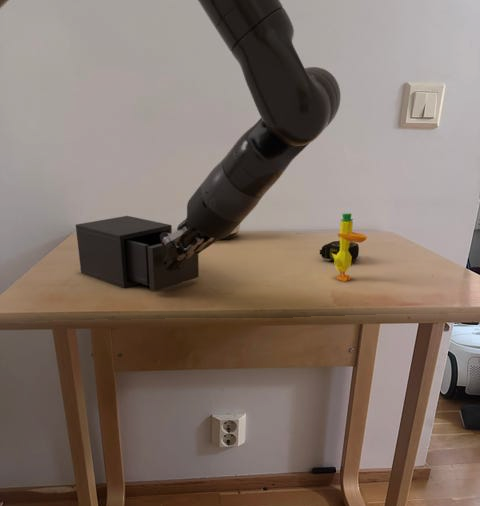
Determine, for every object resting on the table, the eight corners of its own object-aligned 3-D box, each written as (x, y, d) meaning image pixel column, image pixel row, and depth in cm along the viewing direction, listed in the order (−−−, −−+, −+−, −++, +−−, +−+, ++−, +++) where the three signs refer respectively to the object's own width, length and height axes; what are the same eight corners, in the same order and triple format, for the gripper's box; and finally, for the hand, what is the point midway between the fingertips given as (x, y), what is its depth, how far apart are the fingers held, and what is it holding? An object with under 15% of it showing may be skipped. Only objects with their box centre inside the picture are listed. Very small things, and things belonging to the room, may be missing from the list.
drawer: (203, 278, 86) (203, 237, 83) (159, 293, 79) (157, 249, 76) (155, 264, 93) (153, 226, 90) (110, 277, 86) (107, 236, 83)
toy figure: (365, 281, 89) (373, 215, 84) (354, 285, 86) (362, 218, 82) (334, 273, 93) (340, 210, 88) (323, 277, 91) (329, 212, 86)
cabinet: (173, 273, 92) (171, 225, 88) (124, 288, 83) (119, 235, 80) (130, 260, 99) (127, 215, 95) (81, 273, 91) (75, 224, 87)
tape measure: (334, 254, 106) (335, 237, 105) (363, 260, 102) (365, 242, 101) (318, 261, 101) (319, 243, 100) (348, 267, 97) (350, 248, 96)
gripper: (241, 172, 72) (185, 240, 84) (176, 180, 62) (123, 255, 74) (269, 213, 71) (208, 276, 83) (207, 227, 61) (148, 296, 73)
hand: (168, 266), depth 78 cm, fingers closed
